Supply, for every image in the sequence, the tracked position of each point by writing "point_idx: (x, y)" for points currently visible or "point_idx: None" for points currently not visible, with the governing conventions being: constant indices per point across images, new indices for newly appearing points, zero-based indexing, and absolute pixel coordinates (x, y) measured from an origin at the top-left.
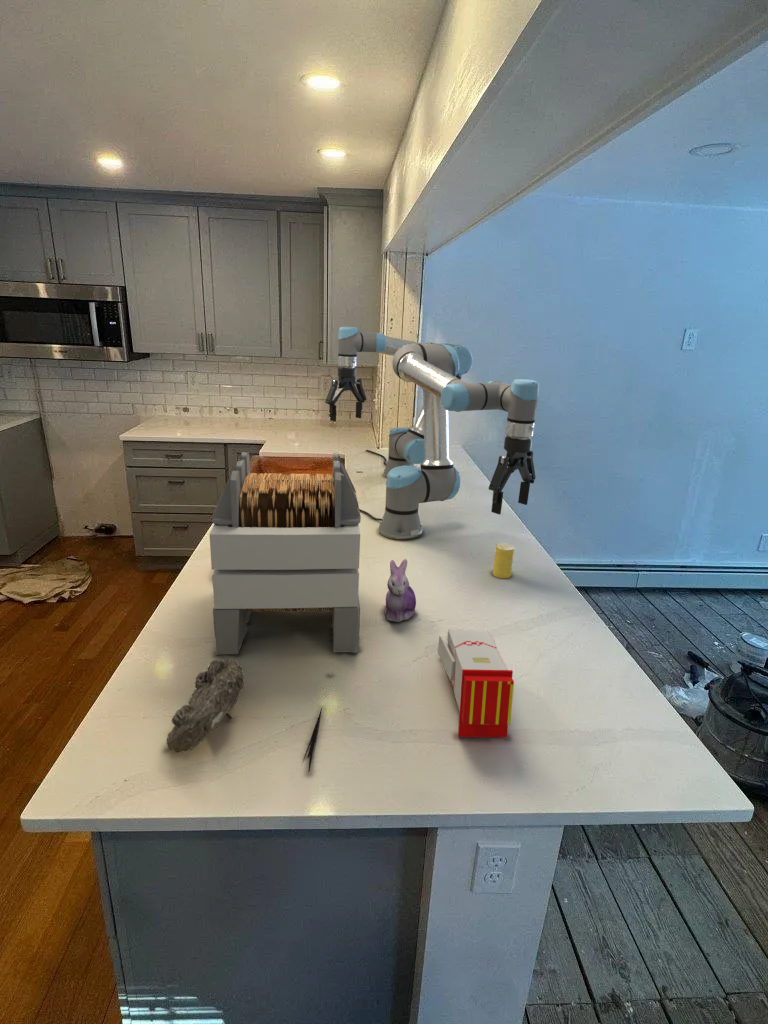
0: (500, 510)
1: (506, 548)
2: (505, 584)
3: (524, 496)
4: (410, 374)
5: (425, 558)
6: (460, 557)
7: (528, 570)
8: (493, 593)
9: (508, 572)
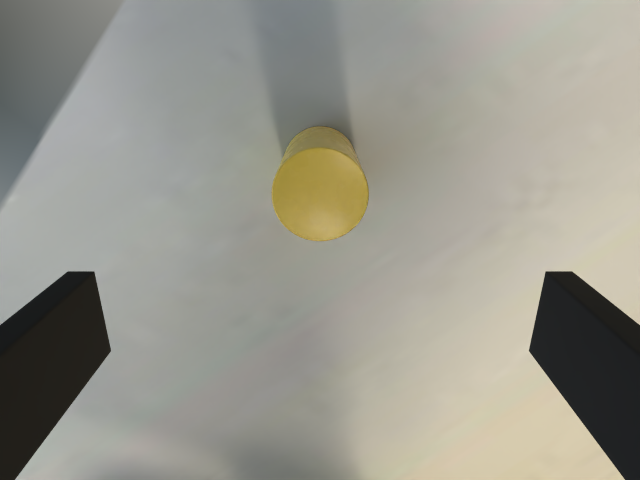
0: (579, 291)
1: (334, 177)
2: (385, 98)
3: (51, 346)
4: None
5: (420, 399)
6: (320, 340)
7: (195, 112)
8: (491, 83)
9: (328, 130)
